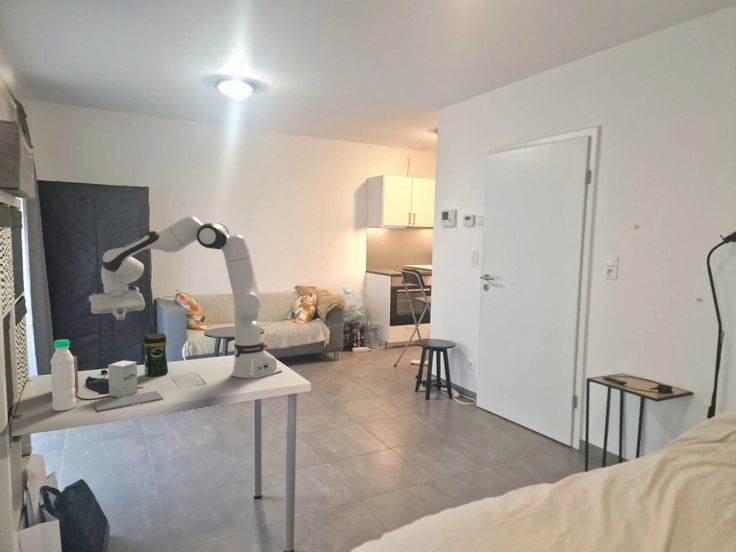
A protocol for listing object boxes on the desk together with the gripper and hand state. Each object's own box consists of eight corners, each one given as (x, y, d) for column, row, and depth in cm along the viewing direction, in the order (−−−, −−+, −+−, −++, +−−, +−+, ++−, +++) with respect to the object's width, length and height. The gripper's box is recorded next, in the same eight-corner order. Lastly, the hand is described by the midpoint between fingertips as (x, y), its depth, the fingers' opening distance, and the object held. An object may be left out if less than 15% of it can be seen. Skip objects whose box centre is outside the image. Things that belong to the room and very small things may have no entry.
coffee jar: (165, 370, 217) (164, 331, 216) (169, 374, 211) (168, 334, 209) (142, 373, 212) (141, 333, 210) (146, 378, 205) (144, 336, 204)
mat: (156, 392, 187) (156, 390, 187) (163, 399, 179) (163, 397, 179) (93, 403, 174) (93, 402, 174) (97, 411, 166) (97, 410, 166)
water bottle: (47, 411, 166) (44, 341, 164) (63, 404, 173) (60, 337, 171) (65, 412, 165) (62, 342, 163) (80, 405, 172) (77, 338, 170)
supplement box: (123, 398, 180) (122, 366, 179) (108, 396, 182) (107, 364, 181) (138, 392, 187) (137, 361, 186) (123, 390, 189) (122, 359, 188)
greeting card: (52, 391, 187) (50, 354, 186) (73, 387, 192) (72, 351, 191) (57, 398, 179) (55, 360, 177) (79, 394, 184) (78, 357, 182)
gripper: (88, 289, 193) (92, 316, 186) (142, 287, 206) (148, 312, 199) (87, 299, 197) (91, 325, 190) (140, 296, 210) (145, 321, 203)
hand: (120, 318), depth 195 cm, fingers closed
